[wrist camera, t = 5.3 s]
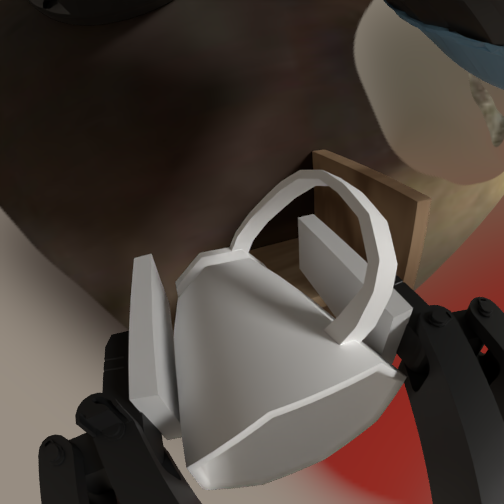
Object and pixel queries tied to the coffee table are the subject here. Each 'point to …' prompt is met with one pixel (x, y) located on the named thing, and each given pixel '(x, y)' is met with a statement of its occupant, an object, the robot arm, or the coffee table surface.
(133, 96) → the coffee table surface
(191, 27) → the coffee table surface
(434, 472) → the robot arm
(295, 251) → the divider
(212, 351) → the cup
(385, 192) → the shelf wall
